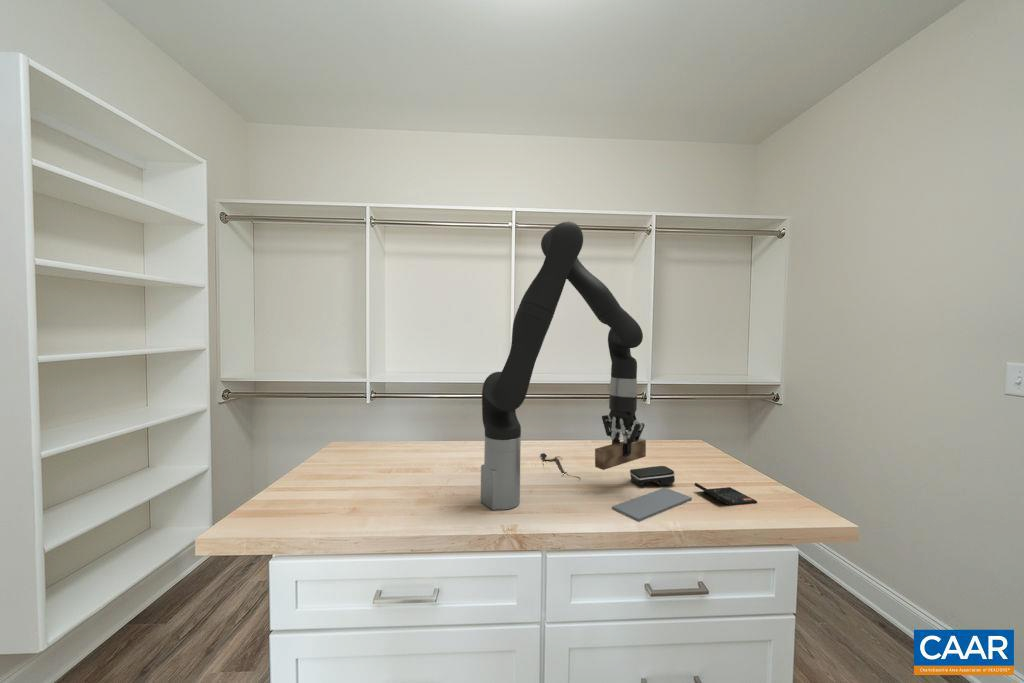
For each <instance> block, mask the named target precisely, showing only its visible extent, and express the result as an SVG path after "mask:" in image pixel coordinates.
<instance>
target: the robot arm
mask: <svg viewBox="0 0 1024 683" xmlns="http://www.w3.org/2000/svg"><path fill="white" fill-rule="evenodd" d="M583 245H584V234H583V231H582V229H581V227H580V226H579V225H578V224H577V223H575V222H574V221H564V222H561V223H558V224H556V225H555V226H553V227H552V228H551V229H549V230H548V231H547V232H545V233H544V234H543V236H542V238H541V241H540V247H541V251H542V253H543V255H544V256H545V258H544V260H543V264H542V265H541V267H540V269H539V271H538V273H537V274H536V276H535V277H534V279H533V280H532V281H531V283H530V284H529V286H528V288H527V289H526V291H525V292H524V294H523V296H522V298H521V301H520V303H519V305H518V308H517V311H516V313H515V316H514V319H513V323H512V330H511V345H510V350H509V354H508V357H507V359H506V362H505V364H504V366H503V368H502V370H501V371H494V372H492V373H491V374H489V375H488V376H486V378H485V380H484V381H483V382H484V383H482V390H481V415H482V416H481V417H482V423H483V427H484V428H483V429H484V451H483V452H484V454H483V455H484V458H483V459H484V460H483V462H484V463H483V464H481V466H480V502H481V503H482V504H483V505H485V506H486V507H488V508H489V509H490V510H492V511H495V510H502V511H503V510H511V509H513V508H515V507H517V506H519V505H520V502H521V501H520V500H521V444H522V443H521V442H522V440H521V439H522V438H521V437H522V436H521V434H522V428H521V427H522V426H521V423H520V422H519V419H518V417H517V412H516V411H517V409H518V408H520V407H521V406H522V405H523V403H524V402H525V399H526V396H527V394H528V390H529V387H530V382H531V379H532V375H533V372H534V368H535V365H536V362H537V358H538V357H539V354H540V351H541V349H542V346H543V343H544V341H545V338H546V335H547V333H548V331H549V329H550V326H551V323H552V321H553V319H554V315H555V313H556V309H557V307H558V303H559V301H560V298H561V296H562V294H563V291H564V287H565V284H566V282H567V281H568V282H569V283H570V285H572V286H573V287H574V288H575V290H576V291H577V292H578V293H579V294H580V296H581V297H582V299H583V300H584V302H585V303H586V305H588V307H589V309H590V310H591V311H592V313H593V314H594V315H595V317H596V318H597V320H598V321H599V322H600V323H602V325H603V324H604V325H606V326H608V327H609V331H608V333H607V334H608V335H607V345H608V350H609V351H608V352H609V357H610V361H611V367H610V380H609V381H610V383H609V398H608V399H609V400H608V402H609V403H608V409H609V410H610V412H609V413H608V414H606V415H605V414H604V415H602V416H601V420H602V424H603V428H604V430H605V435H606V436H607V437H610V439H611V444H615V443H618V442H621V439H620V438H621V435H622V436H623V437H622V438H623V441H624V443H623V456H625V457H627V456H629V455H630V454H631V444H632V443H633V442H637V441H638V440H639V438H640V437H641V435H642V433H643V431H644V428H645V423H643V422H640V421H638V420H637V417H636V412H637V407H638V380H637V379H638V378H637V377H638V376H637V374H638V361H637V359H636V358H635V357H633V356H632V354H631V349H635V348H637V347H639V346H640V344H641V343H642V342H643V339H644V335H643V330H642V328H641V326H640V325H639V323H638V322H637V321H636V320H635V319H634V318H633V317H632V315H630V314H629V313H628V312H627V311H626V310H625V309H624V308H622V307H621V305H620V304H619V302H618V300H617V299H616V296H614V295H613V292H612V291H611V290H610V289H609V288H608V287H607V285H605V283H603V282H602V280H600V279H599V278H598V277H596V276H595V275H594V274H593V273H592V272H590V271H589V270H588V269H587V268H586V267H585V266H584V265H583V263H582V261H580V259H579V258H578V256H579V254H580V252H581V251H582V248H583Z"/></svg>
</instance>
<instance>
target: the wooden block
mask: <svg viewBox="0 0 1024 683" xmlns="http://www.w3.org/2000/svg"><path fill="white" fill-rule="evenodd" d="M646 442H647V439H644V438H640V437H639V440H638V441H637V442H633V443H632V444H631V454H630V455H629V456H627V457H625V456H623V443H624V440H623V441H622V440H621V441H620V442H618V443H615V444H612V443H611V444H608V445H604V446H600V447H597V448H594V466H595V467H594V468H597V469H600V470H602V471H604V470H608V469H611V468H614V467H618V466H620V465H624V464H626V463H629V462H633V461H635V460H639V459H640V460H641V459H642V458H645V457H647V454H646V453H647V443H646Z"/></svg>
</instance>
